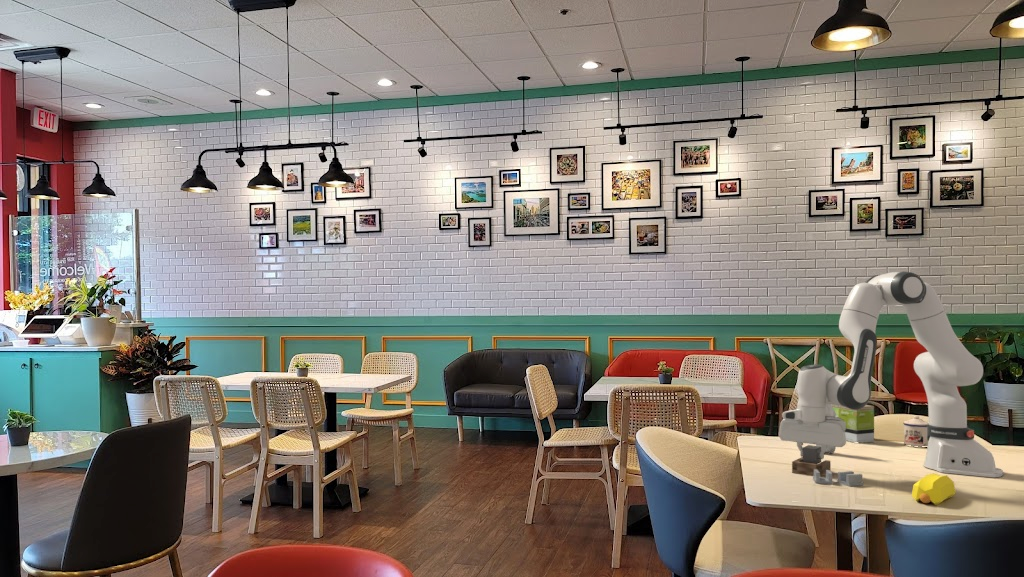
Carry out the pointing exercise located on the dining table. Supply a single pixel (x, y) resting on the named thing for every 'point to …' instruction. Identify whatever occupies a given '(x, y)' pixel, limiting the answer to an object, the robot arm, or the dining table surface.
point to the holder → (810, 467)
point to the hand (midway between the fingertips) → (812, 457)
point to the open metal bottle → (832, 414)
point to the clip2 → (822, 480)
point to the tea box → (857, 422)
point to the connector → (811, 454)
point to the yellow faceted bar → (933, 489)
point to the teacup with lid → (915, 432)
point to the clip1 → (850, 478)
